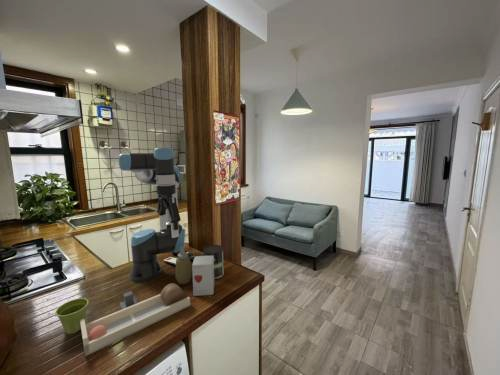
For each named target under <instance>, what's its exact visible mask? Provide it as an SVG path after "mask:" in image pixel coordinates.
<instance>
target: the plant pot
mask: <svg viewBox="0 0 500 375" xmlns="http://www.w3.org/2000/svg"><path fill="white" fill-rule="evenodd" d="M89 302H90V301H89V300H88V298H85V297H81V298H75V299H71V300H69V301H67V302H64V303H63V304H61V305H60V306H58V308H57V309H56V310H55V311H54V312H55V314H54V315H55V316H57V318H58V319H59V322H60V323H61V326H62V328H63V331H64V333H65V334H66V335H71V334H72V335H73V334H75V333H76V334H77V333H78V332H79V331H81V324H80V320H81V319H84V320H85V324H87V308H88V305H89Z"/></svg>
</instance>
